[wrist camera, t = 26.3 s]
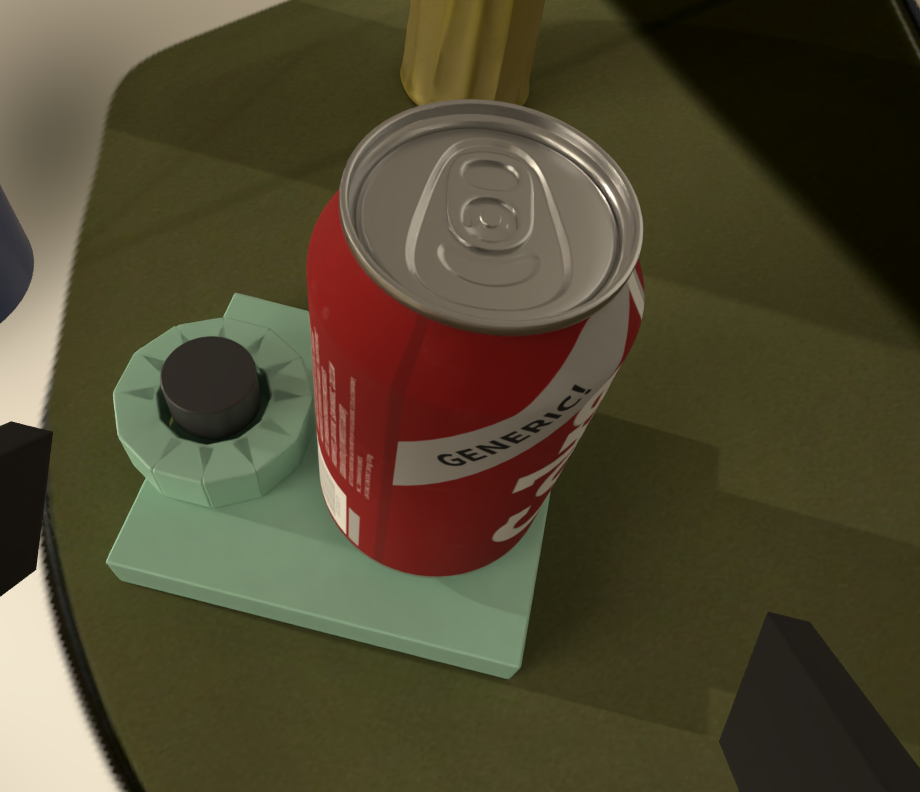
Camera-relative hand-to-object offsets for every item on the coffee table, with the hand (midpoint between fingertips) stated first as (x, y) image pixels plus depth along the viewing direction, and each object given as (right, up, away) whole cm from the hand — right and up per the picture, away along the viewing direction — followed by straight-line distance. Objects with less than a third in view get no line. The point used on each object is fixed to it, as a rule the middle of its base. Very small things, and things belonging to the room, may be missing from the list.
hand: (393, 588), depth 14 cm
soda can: (0, +1, +10) cm, 10 cm away
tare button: (-6, +3, +9) cm, 11 cm away
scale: (-2, +1, +12) cm, 12 cm away
